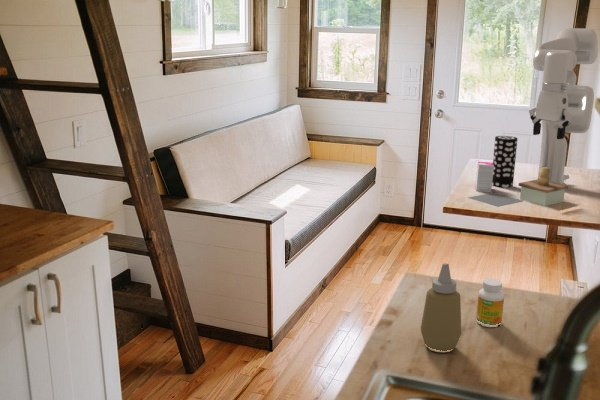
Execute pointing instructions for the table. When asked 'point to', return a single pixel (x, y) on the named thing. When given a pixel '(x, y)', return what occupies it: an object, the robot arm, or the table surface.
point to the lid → (543, 182)
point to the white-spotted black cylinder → (504, 161)
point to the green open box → (542, 196)
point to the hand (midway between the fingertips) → (548, 136)
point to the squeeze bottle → (442, 313)
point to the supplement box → (484, 176)
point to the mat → (495, 199)
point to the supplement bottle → (490, 302)
